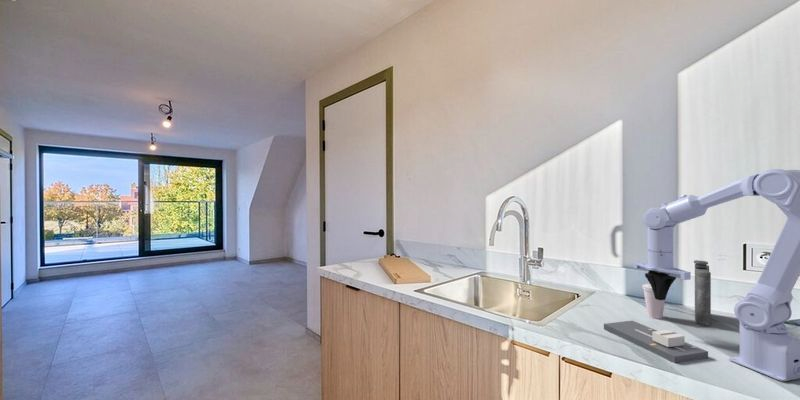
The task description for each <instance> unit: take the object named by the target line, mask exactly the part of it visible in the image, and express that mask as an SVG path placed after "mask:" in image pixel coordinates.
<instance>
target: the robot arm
mask: <svg viewBox="0 0 800 400" xmlns="http://www.w3.org/2000/svg"><path fill="white" fill-rule="evenodd" d="M747 196H749V197H757V196H759V197H760V196H761V197H762V198H764V199H765V200H768V201H770V202H771V203H773V204H775V205H776V207H778V208H779V209H780V210H781V211H782V213H783V214H784V215H785V217H787V218H786V220H785V223H784V225H783V227H782V228H781V231H780V233H779V236H778V238H777V239H776V242H775V244H774V246H773V248H772V250H771V252H770V254H769V257H768V259H767V261H766V262H765V265H764V267H763V269H762V271H761V273H760V276H759V277H758V280H757V282H756V284H755V285H754V286H752V288H751V289H749V290H748V292H747V293H746V296H745V297H744V298H742V299H741V300H739V301H737V303H736V304H735V306H734V308H733V312H734V315H735V317H736V319H737V320H738V321H739V355H738V356H731V357H728V360H729V361H731V362H734V363H736V364H738V365H741V366H743V367H746V368H748V369H751V370H753V371H755V372H758V373H761V374H762V375H766V376H768V377H770V378H773V379H776V380H778V381H780V382H787V381H792V380H793V381H794V380H799V379H800V337H798V336H794V335H792V334H790V333H789V332H788V328H787V325H786V324H785V322H788V320H790V319H791V317H792V314H793V311H792V307H791V303H792V301H793V299H794V297H793V294H792V291H793V289H794V287H795V286H796V284H797V281H798V279H799V278H800V169H782V168H772V169H767V170H765V171H763V172H761V173H756V174H751V175H748V176H746V177H743V178H740V179H738V180H736V181H733V182H732V183H729V184H726V185H724V186H721V187H718V188H717V189H714V190H712V191H710V192H708V193H705V194H702V195H700V196H697V195H694V194H689V195H687V194H682V195H681V196H680V195H679V197H678V198H679V199H677V200H674V201H671V202H669V203H668V202H667V203H665V202H664V203H662V204H661V207H650V208H649V209H648V210H646V211H645V212H644V213H643V215H642V221H643V223H644V226H646V227H647V228H646V231H647V232H646V235H647V236H646V239H647V241H646V242H647V246H646V248H647V258H646V261H647V262H643V261H634V262H633V269H637V270H643V271H648V272H647V273H646V272H645V273H644V276H645V278H646V279H647V282H649V283H648V284H650V285H651V287H652V290H653V293H654V296H655V299H657V300H665V301H666V298H667V296H668V292H669V290H670V288H671V286H672V285H673V284H674V282H675V281H676V280H677V278H678V279H681V280H684V281H686V280H687V281H688V280H691V278H692V277H691V276H692V275H691V271H687V270H684V269H680V268H677V267H674V228H675V227H676V226H677V225H678V224H680V223H681V224H682V223H685V222H688V221H690V220H692V219H696V218H699V217H702V216H704V215H705V214H706V212H707V210H708V209H709V208H712V207H715V206H718V205H721V204H725V203H728V202H731V201H734V200H737V199H740V198H743V197H747Z"/></svg>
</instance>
